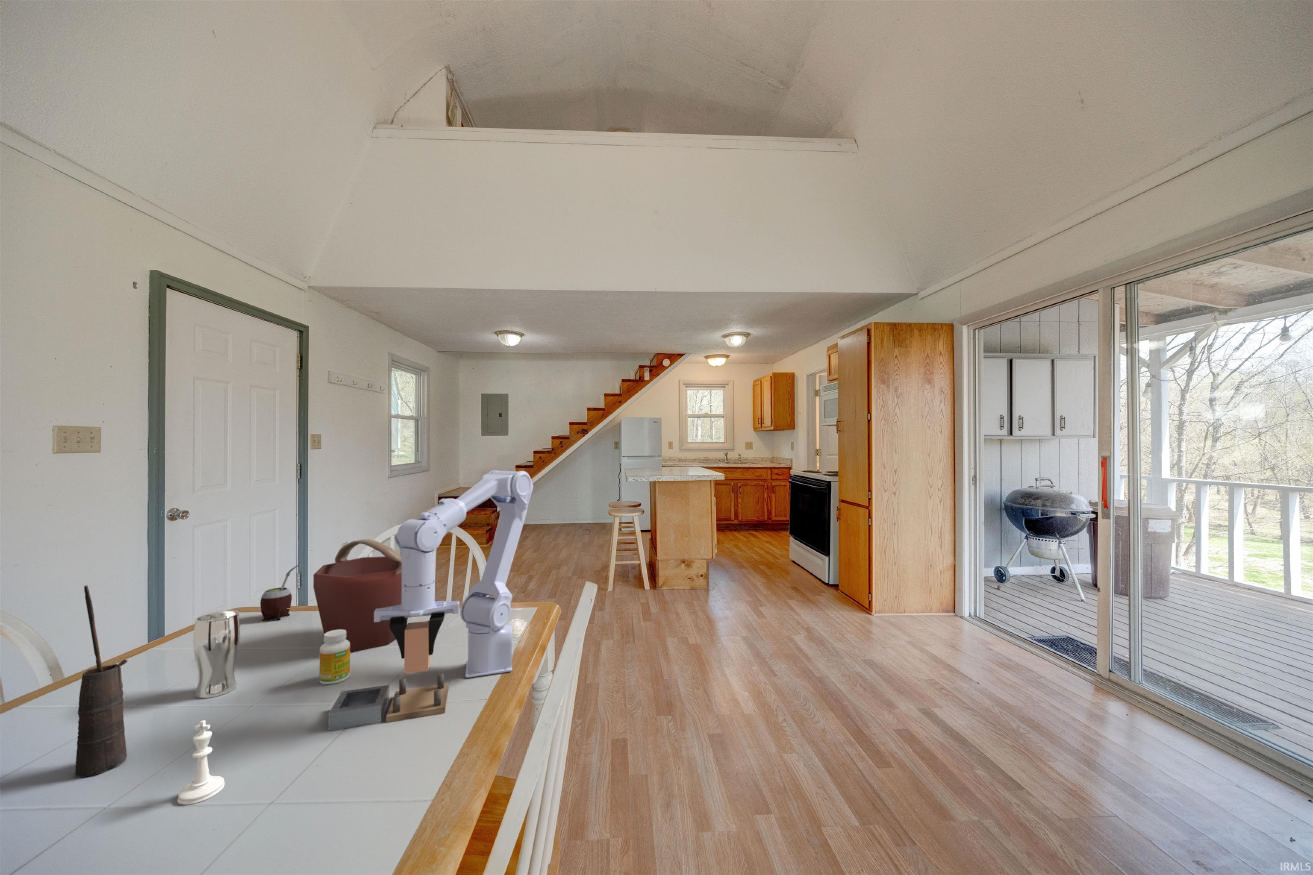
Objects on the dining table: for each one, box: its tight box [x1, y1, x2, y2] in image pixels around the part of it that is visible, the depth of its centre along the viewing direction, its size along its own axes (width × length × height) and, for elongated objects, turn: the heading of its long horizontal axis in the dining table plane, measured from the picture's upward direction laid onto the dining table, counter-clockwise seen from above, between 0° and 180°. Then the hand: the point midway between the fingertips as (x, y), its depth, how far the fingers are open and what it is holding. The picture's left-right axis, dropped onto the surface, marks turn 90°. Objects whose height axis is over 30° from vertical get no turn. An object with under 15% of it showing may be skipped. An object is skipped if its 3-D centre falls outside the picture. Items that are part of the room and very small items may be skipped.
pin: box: [403, 620, 431, 674], centre depth 93 cm, size 4×4×8 cm
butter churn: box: [74, 584, 128, 778], centre depth 77 cm, size 9×10×28 cm
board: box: [385, 673, 450, 723], centre depth 93 cm, size 10×10×4 cm
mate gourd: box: [259, 564, 300, 622], centre depth 140 cm, size 8×8×15 cm
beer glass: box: [192, 609, 241, 699], centre depth 99 cm, size 7×7×15 cm
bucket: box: [312, 539, 409, 654], centre depth 125 cm, size 24×22×25 cm
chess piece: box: [177, 719, 226, 806], centre depth 70 cm, size 5×5×10 cm
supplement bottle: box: [318, 629, 351, 685], centre depth 104 cm, size 5×5×10 cm
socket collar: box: [328, 684, 391, 732], centre depth 90 cm, size 8×8×3 cm
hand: (417, 654), depth 93 cm, fingers closed on pin, 4 cm apart
